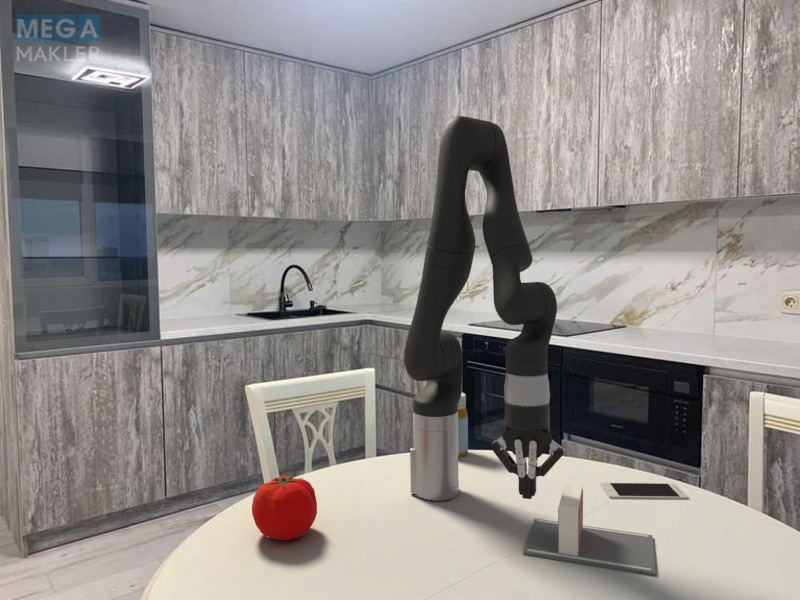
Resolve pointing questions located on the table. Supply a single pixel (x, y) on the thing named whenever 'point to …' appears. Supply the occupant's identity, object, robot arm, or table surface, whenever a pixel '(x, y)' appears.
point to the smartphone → (643, 491)
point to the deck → (570, 519)
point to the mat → (595, 547)
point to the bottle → (462, 427)
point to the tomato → (284, 508)
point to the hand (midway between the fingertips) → (527, 497)
